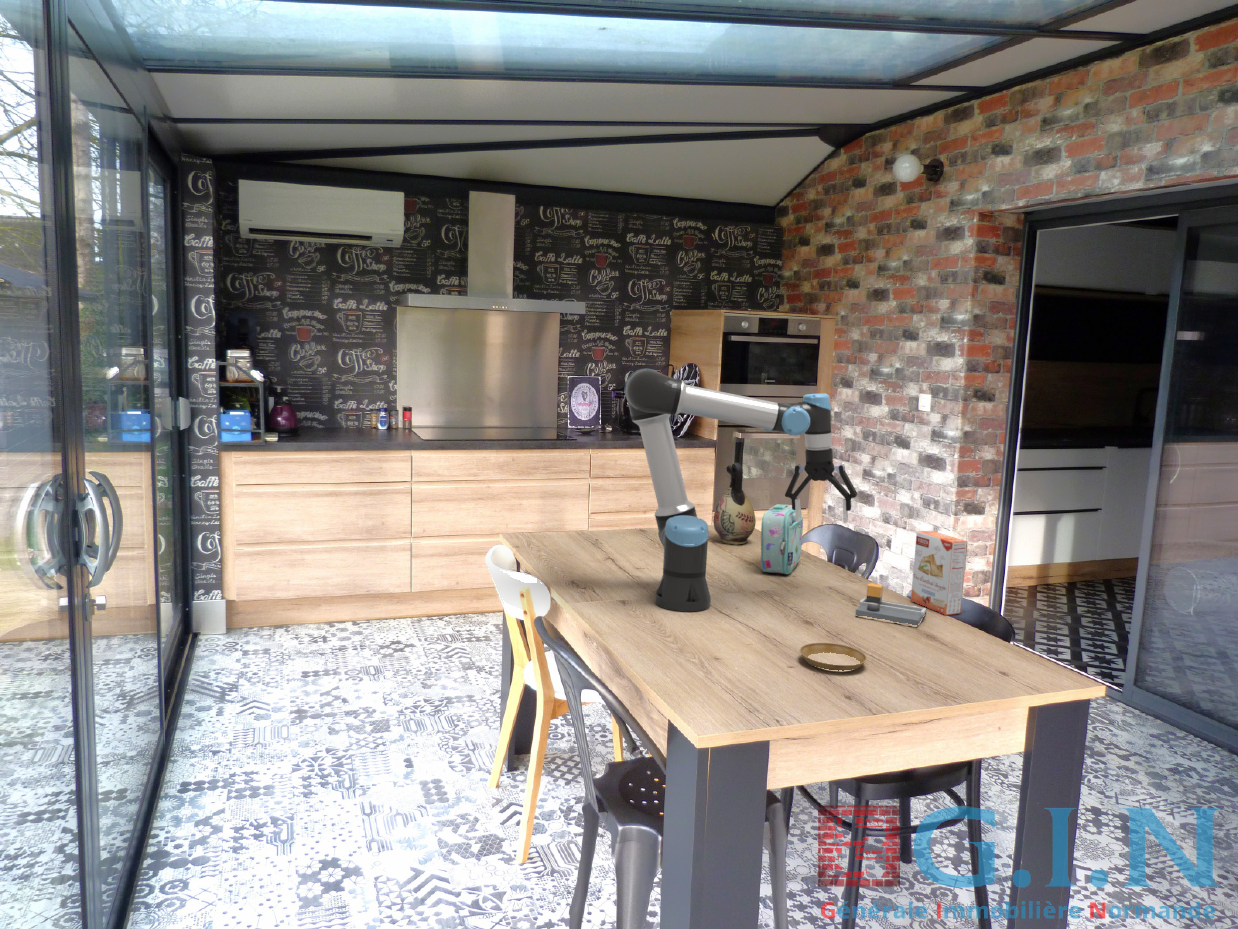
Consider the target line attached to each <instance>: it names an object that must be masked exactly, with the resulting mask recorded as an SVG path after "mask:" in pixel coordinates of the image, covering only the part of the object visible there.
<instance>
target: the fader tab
mask: <svg viewBox="0 0 1238 929" xmlns="http://www.w3.org/2000/svg"><path fill="white" fill-rule="evenodd" d="M883 591H884V585H883V584H877V583H874V582H873V583H872V582H869V583H868V584H867V586H866V602H868V603H870V602H873V603H878V604H880V605H881V603H882V601H883Z"/></svg>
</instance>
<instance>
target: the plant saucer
mask: <svg viewBox="0 0 1238 929" xmlns="http://www.w3.org/2000/svg"><path fill="white" fill-rule="evenodd" d="M799 652H800V654H801V656H802V658H803V659H804V660H805V661H806V662H807V663H808V664H809V665H810V664H811V665H813V666H816V667H820V668H824V669H829V670H838V671H839V670H842V671H844V670H852V669H856V668H857V669H859V668H860V667H862V666H863V665H864V663H865V662H866V661H867V660H868V658H867V655H866V654H865V653H864V652H862V651H861V650H859V649H857V648H854V647H851V646H848V645H844V644H841V643H840V644H839V643H833V642H812V643H807V644H804V645H802V646H800V648H799ZM823 652H824V653H830V652H831V653H836V654H845V655H848V656H850V657H854V658H856V660H858V661H860V664H856V665H833V664H827V663H822V662H818V661H815V660H812V659H810V658H808V656H809V655H811V654H818V653H823ZM811 665H810V666H811ZM813 666H812V667H813ZM858 667H859V668H858ZM857 669H856V670H857Z"/></svg>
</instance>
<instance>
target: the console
mask: <svg viewBox="0 0 1238 929" xmlns="http://www.w3.org/2000/svg"><path fill="white" fill-rule="evenodd" d="M866 598H867V597H866ZM866 598H865V597H863V598H862V599H860V600H859V604H858V605H859V606H858V607H857V608H856V609H855V615H857V616H867V617H872V618H877V619H885V620H890V621H893V622H899V623H908V624H912V625H917V626H918V624H919V623H920V621H921V619H922V618H923V616H924V615H925V613H926V614H927V609H928V608H926V607H924V606H917V605H911V604H905V603H900V602H899V603H898V602H894V601H889V600H888V601H887V600H882V603H881V605H880V604H878V603H873V602H870V603H868V602H866ZM920 624H921V623H920ZM918 627H919V626H918Z"/></svg>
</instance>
